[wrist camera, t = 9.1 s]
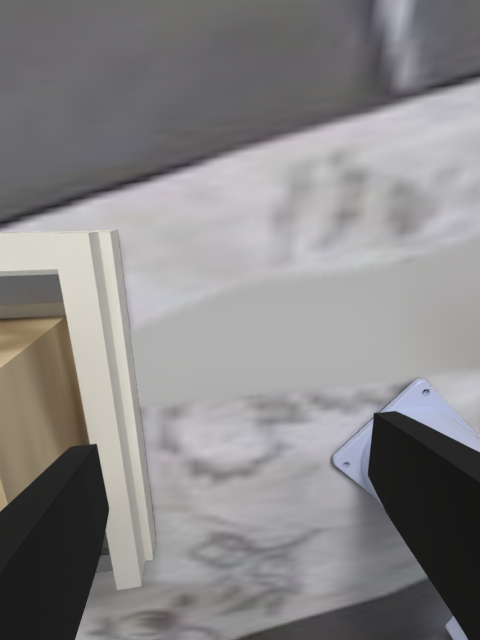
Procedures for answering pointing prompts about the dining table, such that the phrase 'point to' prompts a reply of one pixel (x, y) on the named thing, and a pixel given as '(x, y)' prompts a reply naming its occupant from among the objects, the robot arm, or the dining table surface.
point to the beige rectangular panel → (36, 400)
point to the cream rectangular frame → (92, 369)
